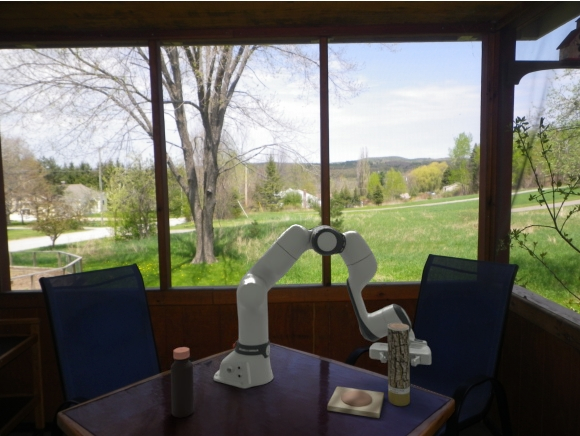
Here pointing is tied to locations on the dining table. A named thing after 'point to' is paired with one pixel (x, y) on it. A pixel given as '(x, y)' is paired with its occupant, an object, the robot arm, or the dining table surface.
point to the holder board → (356, 402)
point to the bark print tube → (398, 364)
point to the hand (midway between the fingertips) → (398, 362)
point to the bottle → (182, 383)
